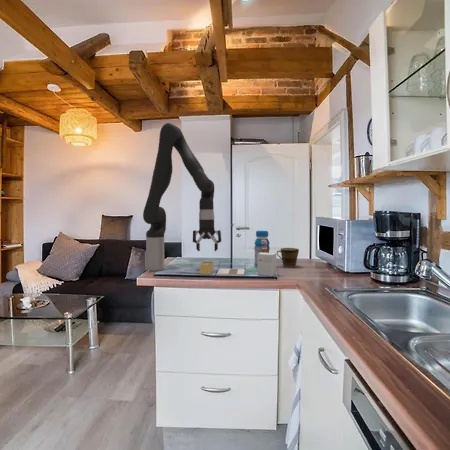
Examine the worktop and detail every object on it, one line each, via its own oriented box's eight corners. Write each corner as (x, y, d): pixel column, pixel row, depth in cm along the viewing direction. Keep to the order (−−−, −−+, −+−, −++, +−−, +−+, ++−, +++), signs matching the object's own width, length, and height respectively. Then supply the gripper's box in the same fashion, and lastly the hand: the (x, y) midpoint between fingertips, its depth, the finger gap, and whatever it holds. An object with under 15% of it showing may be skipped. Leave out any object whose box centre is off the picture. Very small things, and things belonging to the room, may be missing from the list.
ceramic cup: (292, 264, 174) (292, 247, 174) (302, 267, 165) (302, 249, 164) (272, 265, 170) (272, 248, 170) (281, 269, 161) (281, 250, 160)
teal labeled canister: (251, 267, 165) (252, 231, 164) (257, 265, 172) (257, 230, 171) (266, 268, 161) (266, 231, 160) (271, 266, 169) (271, 230, 168)
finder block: (199, 274, 148) (199, 263, 148) (205, 270, 157) (205, 260, 156) (208, 274, 147) (208, 264, 146) (213, 271, 155) (213, 261, 155)
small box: (276, 274, 148) (276, 253, 147) (273, 276, 142) (273, 254, 142) (260, 272, 151) (260, 252, 150) (257, 275, 146) (257, 253, 145)
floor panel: (217, 275, 145) (217, 273, 145) (219, 270, 157) (219, 268, 157) (243, 275, 144) (243, 273, 144) (244, 270, 156) (244, 269, 156)
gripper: (191, 219, 147) (191, 252, 148) (219, 218, 146) (220, 252, 146) (194, 218, 155) (194, 250, 155) (221, 218, 153) (222, 250, 154)
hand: (207, 251), depth 151 cm, fingers open, 8 cm apart
